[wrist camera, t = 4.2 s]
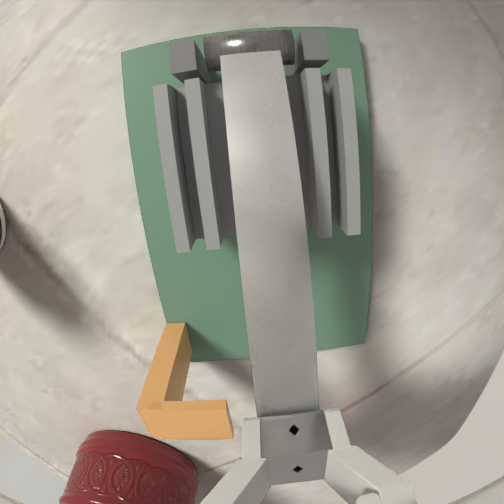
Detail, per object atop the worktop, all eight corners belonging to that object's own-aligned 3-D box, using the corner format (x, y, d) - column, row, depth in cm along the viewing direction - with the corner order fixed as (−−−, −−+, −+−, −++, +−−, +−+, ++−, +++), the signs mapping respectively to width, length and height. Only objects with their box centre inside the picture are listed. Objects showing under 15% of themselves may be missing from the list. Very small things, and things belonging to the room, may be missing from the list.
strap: (207, 50, 10) (202, 29, 9) (286, 43, 10) (289, 21, 9) (251, 457, 11) (250, 479, 9) (327, 448, 10) (334, 468, 9)
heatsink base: (127, 56, 14) (72, 25, 8) (351, 33, 14) (401, -7, 8) (180, 353, 21) (162, 423, 15) (360, 334, 21) (393, 399, 15)
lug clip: (166, 323, 19) (135, 409, 12) (231, 318, 19) (225, 409, 12) (174, 351, 19) (150, 438, 13) (236, 348, 19) (233, 439, 13)
